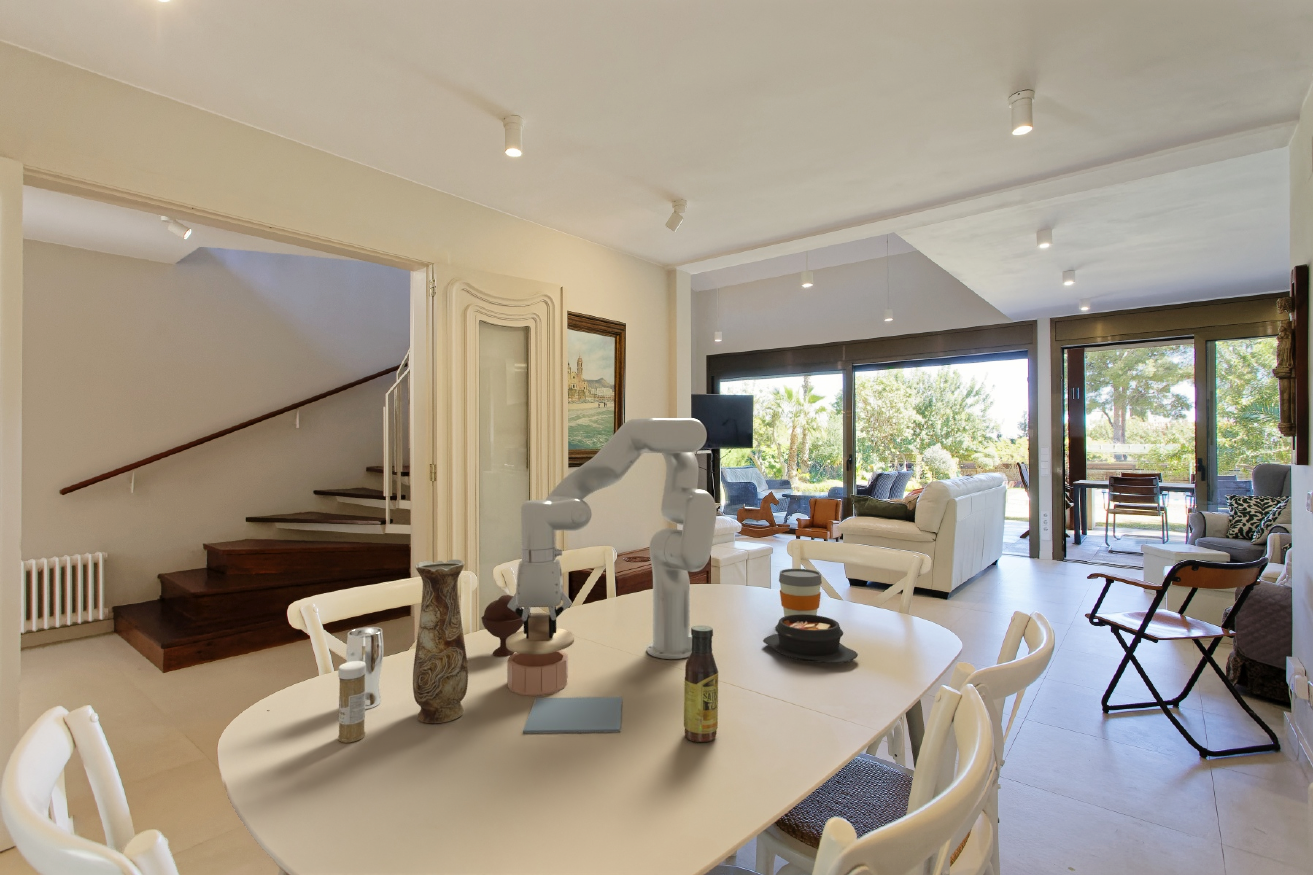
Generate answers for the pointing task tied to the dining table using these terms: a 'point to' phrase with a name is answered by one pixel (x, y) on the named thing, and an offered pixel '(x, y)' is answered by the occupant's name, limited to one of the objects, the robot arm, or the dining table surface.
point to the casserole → (810, 639)
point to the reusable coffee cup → (800, 591)
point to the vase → (440, 645)
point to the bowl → (537, 673)
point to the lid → (539, 637)
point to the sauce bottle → (701, 688)
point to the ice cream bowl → (501, 623)
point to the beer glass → (367, 659)
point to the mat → (575, 715)
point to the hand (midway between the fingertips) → (540, 635)
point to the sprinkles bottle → (351, 701)
